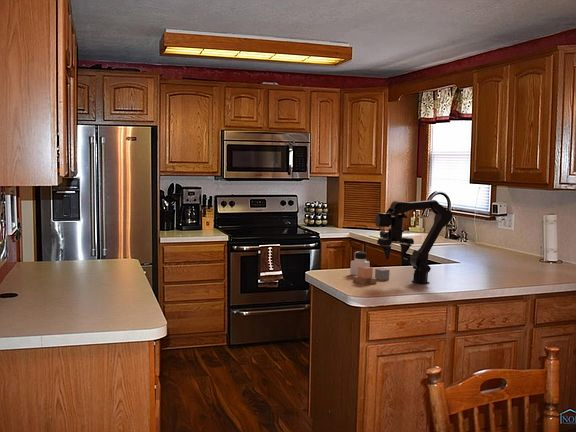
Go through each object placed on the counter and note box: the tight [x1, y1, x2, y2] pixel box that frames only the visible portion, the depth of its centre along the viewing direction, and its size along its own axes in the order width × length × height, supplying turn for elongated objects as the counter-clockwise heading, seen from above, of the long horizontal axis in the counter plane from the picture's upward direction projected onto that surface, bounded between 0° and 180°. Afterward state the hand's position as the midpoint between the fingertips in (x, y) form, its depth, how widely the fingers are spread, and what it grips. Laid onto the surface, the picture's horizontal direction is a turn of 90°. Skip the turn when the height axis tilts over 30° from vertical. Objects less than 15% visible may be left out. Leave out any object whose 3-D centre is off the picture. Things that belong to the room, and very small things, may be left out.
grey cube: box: [374, 267, 390, 281], centre depth 306 cm, size 5×5×5 cm
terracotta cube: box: [358, 266, 374, 279], centre depth 295 cm, size 5×5×5 cm
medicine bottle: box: [349, 251, 371, 276], centre depth 314 cm, size 7×7×12 cm
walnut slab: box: [352, 275, 378, 286], centre depth 296 cm, size 8×8×3 cm
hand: (394, 258), depth 296 cm, fingers open, 9 cm apart
